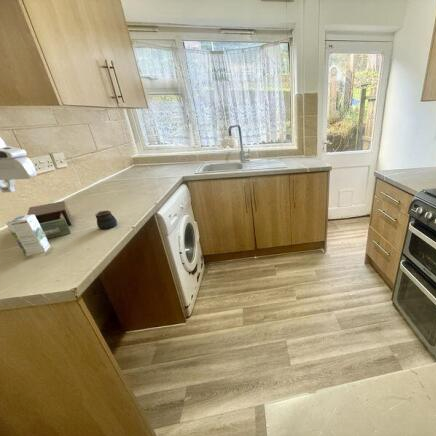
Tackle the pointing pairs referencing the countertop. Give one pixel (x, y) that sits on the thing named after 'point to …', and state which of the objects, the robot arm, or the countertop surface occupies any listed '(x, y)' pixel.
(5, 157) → the robot arm
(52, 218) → the drawer
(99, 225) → the mate gourd
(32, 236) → the syrup box
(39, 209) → the cabinet
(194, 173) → the countertop surface
